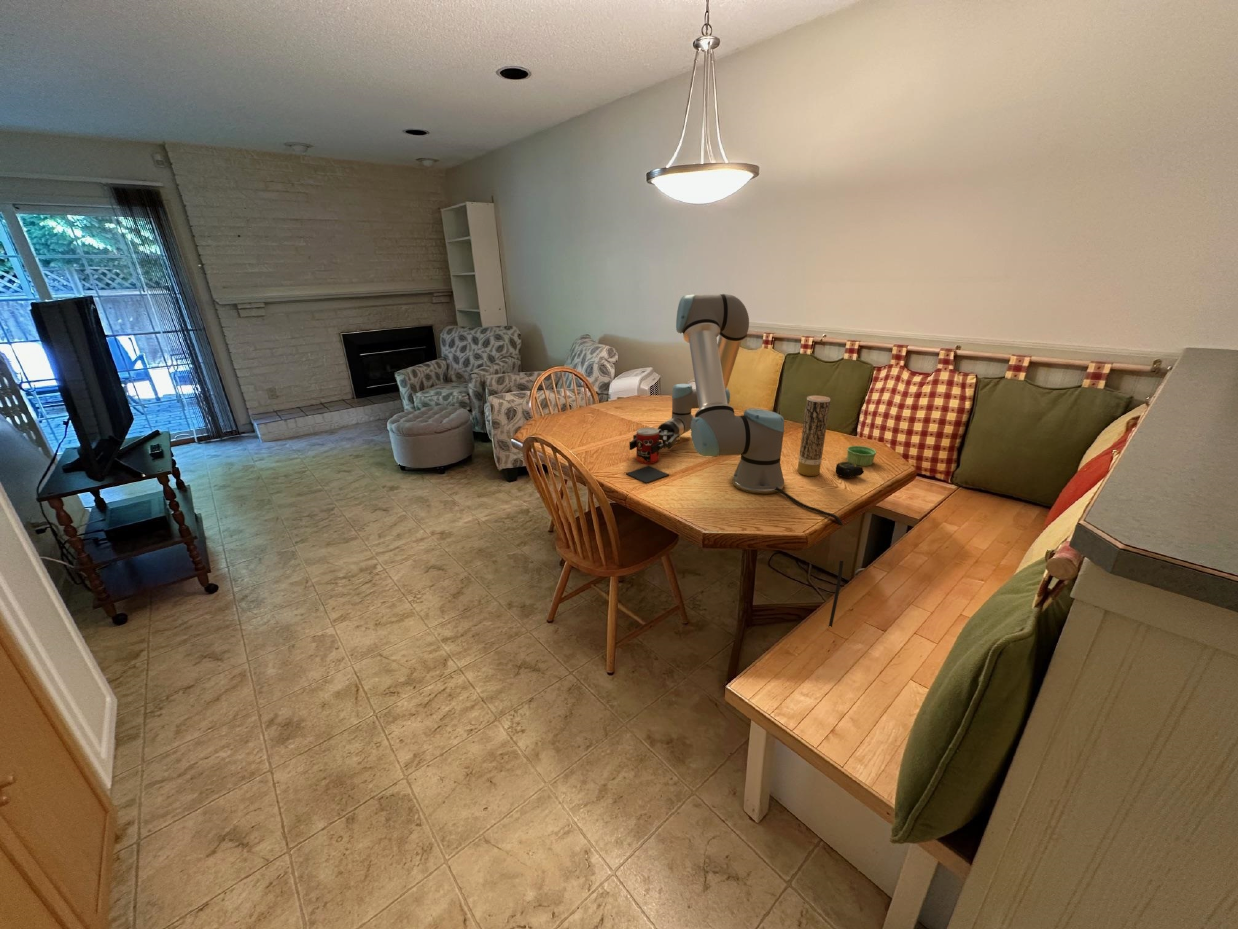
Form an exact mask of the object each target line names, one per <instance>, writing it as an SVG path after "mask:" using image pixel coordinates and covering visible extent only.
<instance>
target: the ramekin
mask: <svg viewBox="0 0 1238 929" xmlns="http://www.w3.org/2000/svg"><path fill="white" fill-rule="evenodd" d="M846 452H847V453H846V454H847V455H846V460H847V461H846V462H850V463H854V464H856V465H857V466H860V467H866V466H871V465H872V464H873V463H874V460H875V456H876V455H877V451H876V449H874V448H871V447H868V446H863V445H852V446H848V447H847V448H846Z"/></svg>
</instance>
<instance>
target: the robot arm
mask: <svg viewBox="0 0 1238 929" xmlns="http://www.w3.org/2000/svg"><path fill="white" fill-rule="evenodd" d="M675 319H676V320H675V330H676V332H677V333H678V334H682V335H683V336H682V337H683V339H684V341H685V342H686V343H688V344H689V349H690V357H691V363H692V370H693V377H694V385H695V388H693V385H691V384H689V383H677V384H674V385H673V387H672V392H671V393H672V394H671V402H672V403H671V418H670V419H668V420H666V421H665V422H662V423H661V424H660V425H659V426H658V427H657V429H658V430H659V442H657V443H656V444H654V445H652V446H651V454H654V453H656V452H657V451H659V452H660V451H662V450H663V449H666V448H667V449H669V450H670V449H672V448H673V447H674V446H675V445H676V444H677V443H679V442H680V440H681V436H683V435H684V434H686V433H688V432H690V438H691V443H692V446H693V447H694V449H695V451H696V453H698V455H699V456H701V457H713V458H716V457H725V456H740V460H739V462H738V464H737V466H736V468H735V471H734V473H733V475H732V484H733V486H734V487H736V489H739V490H740V491H744V492H746V493H750V494H756V495H773V494H777V493H779V494H782V495H783V496H785V497H786V498H787V499H789V500H791V501H792V502H793V503H795V504H796V505H798V506H800V507H802V508H804V509H807V510H810V511H812V512H816V513H818V514H821V515H824V516H827V517H830V518H832V519H834V520H835V521H836V522H837V524H838V525H840V526H843V525H844V524H843V522H842V519H840V517H838V515H836V514H834V513H832V512H827V511H825V510H822V509H819V508H816V507H813V506H810V505H808V504H805V503H803V502H801V501H799V500H798V499H796V498H794V497H793V496H791V495H790V494H789V493H787V492H786V491H784V486H785V478H784V474H783V469H782V464H781V459H782V449H783V443H784V442H783V441H784V434H785V419H784V417H783V416H782V415H781V414H779V413H777V412H775V411H771V410H767V409H762V408H747V409H745V410H744V412H743V415H735V414H736V413H735V409H734V407H733V406H732V405H730V401H731V400H730V399H731V393H730V389H729V388H728V385H729V382H730V379H731V376H732V372H733V370H734V367H735V364H736V361H737V357H738V354H739V350H740V348H741V347H740V346H741V344H742V341H744V340H745V339H746V337H747V335H748V332H749V328H750V317H749V312H748V310H747V308H746V306H745V304H744V303H743V301H742V300H741V299H740V298H739V297H736V296H735V295H733V294H730V293H718V294H717V293H716V294H695V293H693V294H686V295H685V294H684V295H683V296H681V298H680V300H679V301H678V306H677V311H676V318H675ZM718 337H719V338H718ZM693 409H698V410H696V412H695V413H694V415H693V414H692V410H693ZM636 435H637V433H635V434H633V436H632V440H631V441H630V442H629V445H628V446H629V451H633V450H634V449H637V443H636ZM843 568H844V560H839V563H838V572H837V580H836V587H835V591H834V598H833V602H832V608H831V612H830V616H829V617H830V618H829V621H828V627H829V626H831V627H832V628H833V624H834V620H835V614H836V611H837V610H836V609H837V606H838V600H839V594H840V590H841V582H842V576H843V570H844V569H843Z"/></svg>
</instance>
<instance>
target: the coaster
mask: <svg viewBox="0 0 1238 929" xmlns="http://www.w3.org/2000/svg"><path fill="white" fill-rule="evenodd" d="M625 475H627V476H629V477H631V478H633V479H635V480H637V481H639V482H642V483H644V484H650V483H651V482H654V481H657V480H661V479H663V478H666V477H669V476H670V474H669V473H667V472H665V471H662V470H661V469H657V468H655V467H653V466H650V465H647V466H643V467H641V468H638V469H635V470H631V471H629V472H626V473H625Z"/></svg>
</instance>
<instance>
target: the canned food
mask: <svg viewBox="0 0 1238 929" xmlns="http://www.w3.org/2000/svg"><path fill="white" fill-rule="evenodd" d="M636 434H637V435H636V443H637V447H636V460H637V462H638V463H640V464H645V465H646V464H647V465H651V464H655V463H657V462H658V461H659V460H660V450H659V451H657V452H656V453H654V454H651V446H652V445H654V444H656V443H657V442H659V441H660V440H659V430H658V428H656V427H650V426H649V427H641V428H638V429H636Z"/></svg>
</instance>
